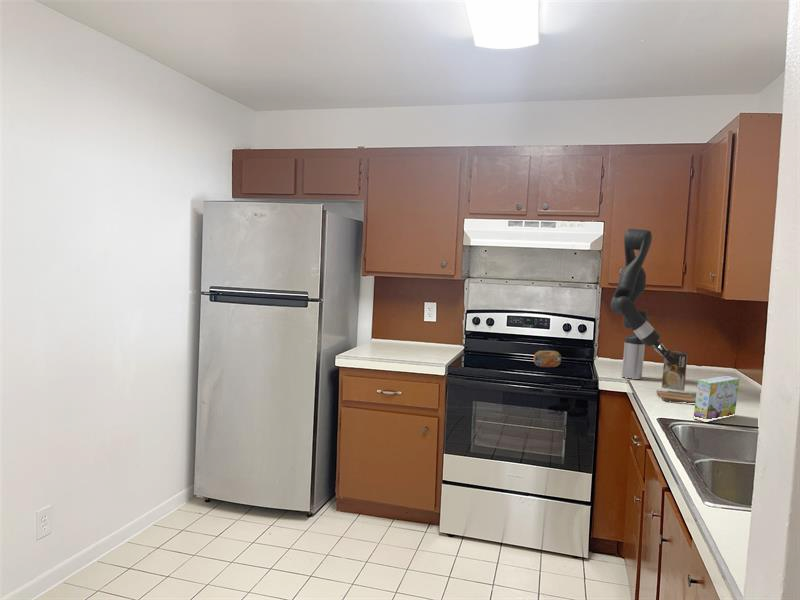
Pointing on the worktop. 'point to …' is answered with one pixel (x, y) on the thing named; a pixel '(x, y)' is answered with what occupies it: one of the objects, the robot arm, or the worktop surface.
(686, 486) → the worktop surface
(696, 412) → the snack box
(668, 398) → the board
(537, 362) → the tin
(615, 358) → the worktop surface
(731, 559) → the worktop surface
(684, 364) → the coffee box
